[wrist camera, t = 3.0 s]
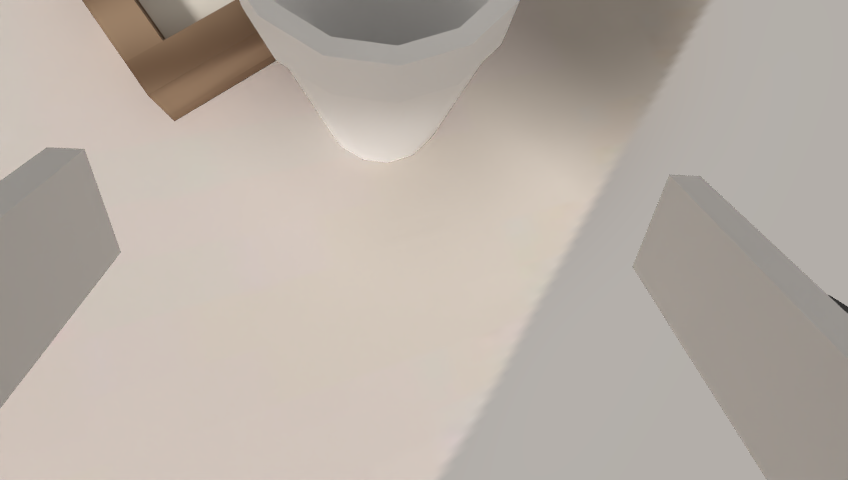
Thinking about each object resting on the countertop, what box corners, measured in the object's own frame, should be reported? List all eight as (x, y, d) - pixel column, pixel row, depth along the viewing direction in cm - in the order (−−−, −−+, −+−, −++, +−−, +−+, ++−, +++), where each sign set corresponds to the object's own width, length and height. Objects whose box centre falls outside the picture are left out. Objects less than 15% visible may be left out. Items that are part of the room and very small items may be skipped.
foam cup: (325, 213, 26) (269, 104, 13) (272, 57, 27) (172, -182, 14) (491, 158, 27) (588, 10, 14) (433, 12, 28) (474, -245, 15)
